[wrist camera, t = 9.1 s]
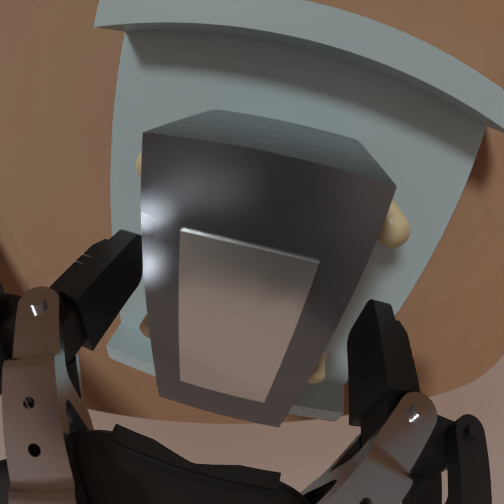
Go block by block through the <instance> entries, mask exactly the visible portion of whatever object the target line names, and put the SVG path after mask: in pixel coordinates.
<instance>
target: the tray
mask: <svg viewBox="0 0 504 504" xmlns="http://www.w3.org/2000/svg"><path fill="white" fill-rule="evenodd" d="M94 27H96V28H105V29H112V30H119V31H125V35H124V40H123V45H122V51H121V57H120V64H119V70H118V78H117V86H116V94H115V104H114V115H113V128H112V146H111V224H112V236H113V235H115V234H116V233H117V232H118V231H119V230H121V229H123V230H126V231H130V232H133V233H136V234H140V235H141V236H142V231H141V157H142V135H143V132H145V131H148V130H150V129H153V128H156V127H159V126H162V125H165V124H168V123H171V122H174V121H177V120H180V119H183V118H186V117H189V116H193V115H196V114H199V113H203V112H206V111H210V110H213V109H219V110H226V111H232V112H239V113H245V114H251V115H256V116H262V117H267V118H272V119H277V120H282V121H287V122H291V123H296V124H300V125H304V126H309V127H313V128H317V129H321V130H325V131H328V132H332V133H336V134H340V135H343V136H347V137H350V138H353V139H357V140H358V141H359V142H360V143H361V144H362V145H363V146H364V148H365V149H366V150H367V151H368V152H369V153H370V154H371V156H372V157H373V158H374V159H375V160H376V161H377V163H378V164H379V165H380V166H381V167H382V169H383V170H384V171H385V172H386V173H387V175H388V176H389V177H390V178H391V180H392V181H393V182H394V183H395V185H396V186H397V188H396V191H395V194H394V197H393V199H392V202H391V205H390V208H389V210H388V213H387V216H386V218H385V221H384V223H383V226H382V228H381V231H380V234H379V236H378V238H377V241H376V243H375V246H374V248H373V251H372V253H371V255H370V258H369V260H368V262H367V265H366V267H365V269H364V271H363V274H362V276H361V278H360V280H359V283H358V285H357V287H356V289H355V291H354V293H353V295H352V298H351V300H350V302H349V304H348V306H347V308H346V310H345V312H344V314H343V316H342V318H341V320H340V322H339V324H338V326H337V328H336V330H335V332H334V334H333V336H332V338H331V340H330V341H329V343H328V345H327V347H326V349H325V351H324V353H323V354H322V356H321V358H320V360H319V362H318V363H317V365H316V367H315V369H314V371H313V372H312V374H311V376H310V378H309V379H308V381H307V383H306V384H305V386H304V388H303V389H302V391H301V393H300V394H299V396H298V398H297V399H296V401H295V403H294V404H293V406H292V408H291V409H290V411H289V412H288V414H292V415H297V416H303V417H309V418H315V419H321V420H328V421H336V420H337V419H338V418H339V417H340V416H342V415H343V414H344V384H345V383H346V382H347V381H348V359H347V339H348V335H349V332H350V330H351V328H352V327H353V325H354V323H355V322H356V320H357V318H358V317H359V315H360V313H361V312H362V310H363V308H364V306H365V305H366V303H367V302H368V301H369V300H370V299H373V300H377V301H381V302H385V303H389V304H391V306H392V309H393V313H394V317H395V316H396V314H397V312H398V311H399V309H400V308H401V306H402V305H403V303H404V302H405V300H406V298H407V297H408V295H409V294H410V292H411V290H412V289H413V287H414V285H415V284H416V282H417V280H418V279H419V277H420V275H421V274H422V272H423V270H424V268H425V267H426V265H427V263H428V261H429V259H430V257H431V256H432V254H433V252H434V250H435V248H436V246H437V244H438V242H439V241H440V239H441V237H442V235H443V233H444V231H445V229H446V227H447V224H448V222H449V220H450V218H451V216H452V214H453V212H454V210H455V207H456V205H457V203H458V201H459V198H460V196H461V194H462V191H463V189H464V187H465V184H466V182H467V179H468V177H469V174H470V172H471V169H472V167H473V164H474V161H475V159H476V156H477V153H478V150H479V147H480V144H481V141H482V138H483V135H484V132H485V129H486V126H488V127H490V128H493V129H496V130H498V131H501V132H504V90H503V89H502V88H500V87H499V86H497V85H496V84H495V83H493V82H492V81H490V80H489V79H488V78H486V77H485V76H483V75H482V74H480V73H479V72H477V71H475V70H474V69H472V68H471V67H469V66H467V65H466V64H464V63H463V62H461V61H459V60H457V59H456V58H454V57H452V56H451V55H449V54H447V53H445V52H443V51H441V50H440V49H438V48H436V47H434V46H432V45H430V44H428V43H426V42H424V41H422V40H420V39H418V38H415V37H413V36H411V35H409V34H407V33H404V32H402V31H400V30H397V29H395V28H392V27H390V26H387V25H385V24H382V23H380V22H377V21H374V20H372V19H369V18H366V17H363V16H360V15H357V14H354V13H351V12H348V11H344V10H341V9H337V8H334V7H330V6H326V5H323V4H319V3H314V2H310V1H306V0H100V1H99V5H98V9H97V13H96V18H95V23H94ZM120 317H121V324H120V326H119V327H118V329H117V330H116V332H115V333H114V335H113V336H112V338H111V339H110V341H109V342H108V344H107V345H106V347H107V351H108V354H109V358H112V359H114V360H116V361H119V362H121V363H123V364H126V365H128V366H130V367H133V368H135V369H138V370H140V371H143V372H146V373H148V374H151V375H153V376H156V374H155V368H154V362H153V355H152V348H151V340H150V333H149V324H148V316H147V306H146V296H145V284H144V271H143V273H142V278H141V281H140V283H139V285H138V287H137V288H136V290H135V291H134V292H133V294H132V295H131V297H130V298H129V299H128V301H127V302H126V304H125V305H124V306H123V308H122V309H121V311H120Z"/></svg>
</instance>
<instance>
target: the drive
mask: <svg viewBox="0 0 504 504" xmlns="http://www.w3.org/2000/svg"><path fill="white" fill-rule="evenodd" d="M396 188H397V186H396V185H395V183H394V182H393V181H392V180H391V178H390V177H389V176H388V175H387V173H386V172H385V171H384V170H383V169H382V167H381V166H380V165H379V164H378V163H377V161H376V160H375V159H374V158H373V157H372V156H371V154H370V153H369V152H368V151H367V150H366V149H365V148H364V146H363V145H362V144H361V143H360V142H359V141H358V140H357V139H353V138H350V137H347V136H343V135H340V134H336V133H332V132H328V131H325V130H321V129H317V128H313V127H309V126H304V125H300V124H296V123H291V122H287V121H282V120H277V119H272V118H267V117H262V116H256V115H251V114H245V113H239V112H232V111H226V110H219V109H213V110H210V111H206V112H203V113H199V114H196V115H193V116H189V117H186V118H183V119H180V120H177V121H174V122H171V123H168V124H165V125H162V126H159V127H156V128H153V129H150V130H148V131H145V132H143V135H142V157H141V231H142V254H143V271H144V284H145V296H146V306H147V316H148V324H149V333H150V340H151V348H152V355H153V362H154V368H155V374H156V380H157V386H158V391H159V396H161V397H164V398H167V399H170V400H173V401H176V402H179V403H182V404H185V405H189V406H192V407H195V408H199V409H202V410H206V411H209V412H213V413H217V414H221V415H224V416H228V417H232V418H237V419H241V420H245V421H250V422H254V423H259V424H264V425H269V426H275V427H279V426H280V425H281V423H282V422H283V420H284V419H285V417H286V415H287V414H288V412H289V411H290V409H291V408H292V406H293V404H294V403H295V401H296V399H297V398H298V396H299V394H300V393H301V391H302V389H303V388H304V386H305V384H306V383H307V381H308V379H309V378H310V376H311V374H312V372H313V371H314V369H315V367H316V365H317V363H318V362H319V360H320V358H321V356H322V354H323V353H324V351H325V349H326V347H327V345H328V343H329V341H330V340H331V338H332V336H333V334H334V332H335V330H336V328H337V326H338V324H339V322H340V320H341V318H342V316H343V314H344V312H345V310H346V308H347V306H348V304H349V302H350V300H351V298H352V295H353V293H354V291H355V289H356V287H357V285H358V283H359V280H360V278H361V276H362V274H363V271H364V269H365V267H366V265H367V262H368V260H369V258H370V255H371V253H372V251H373V248H374V246H375V243H376V241H377V238H378V236H379V234H380V231H381V228H382V226H383V223H384V221H385V218H386V216H387V213H388V210H389V208H390V205H391V202H392V199H393V197H394V194H395V191H396Z"/></svg>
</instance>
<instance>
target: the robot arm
mask: <svg viewBox="0 0 504 504" xmlns="http://www.w3.org/2000/svg"><path fill="white" fill-rule="evenodd" d="M142 273H143V254H142V236H141V235H140V234H136V233H133V232H130V231H126V230H123V229H121V230H119V231H118V232H117V233H116V234H115V235H113V236H112V237H111V238H110V239H109V240H107V239H104V240H102V241H100V242H98V243H96V244H94V245H92V246H91V247H90V248H89V249H88V250H87V251H86V252H85V253H84V255H82V256H80V257H79V258H78V259H77V261H76V262H74V263H73V264H72V265H71V266H70V267H69V268H68V269H67V270H66V271H65V272H64V273H63V274H62V275H61V276H60V277H59V278H58V279H57V280H56V281H55V282H54V283H53V284H52V285H51V286H50V287H36V288H32V289H30V290H29V291H27V292H26V293H24V294H23V295H22V296H18V295H11V294H5V292H4V289H3V287H2V284H1V282H0V395H1V393H2V415H3V431H4V442H5V450H6V459H4V460H1V461H0V504H400V503H401V502H402V504H442V480H441V479H442V477H441V472H443V471H445V470H448V498H447V501H446V503H445V504H492V496H491V480H490V468H489V459H488V451H487V444H486V438H485V432H484V428H483V426H482V424H481V422H480V421H479V420H478V419H477V418H476V417H475V416H473V415H469V414H466V415H463V416H461V417H460V418H459V419H457V420H456V421H455V422H454V421H451V420H449V419H446V418H444V417H442V416H439V415H437V411H436V408H435V406H434V404H433V402H432V401H431V400H430V399H429V398H428V397H427V396H426V395H424V394H422V393H420V388H419V383H418V378H417V373H416V369H415V364H414V360H413V357H412V351H411V347H409V346H410V343H409V339H408V335H407V332H406V331H405V329H404V327H403V326H402V324H401V323H400V321H397V320H395V317H394V313H393V309H392V306H391V304H389V303H385V302H381V301H377V300H373V299H370V300H369V301H368V302H367V303H366V305H365V306H364V308H363V310H362V312H361V313H360V315H359V317H358V318H357V320H356V322H355V323H354V325H353V327H352V328H351V330H350V332H349V335H348V339H347V359H348V383H349V425H352V426H360V427H361V434H359V435H358V436H357V437H356V438H355V440H354V441H353V442H352V443H351V444H350V445H349V446H348V448H347V449H346V450H345V451H344V452H343V453H342V454H341V455H340V457H339V458H338V459H337V460H336V461H335V462H334V463H333V464H332V465H331V466H330V467H329V468H328V469H327V470H326V472H324V473H323V474H322V475H321V476H320V477H319V478H317V479H316V480H315V481H313V482H312V483H311V484H310V485H308V486H307V487H306V488H305V489H304V490H303V491H302V492H301V493H300V492H298V491H297V490H295V489H294V488H292V487H291V486H289V485H287V484H285V483H283V482H281V481H280V475H281V473H279V472H273V471H267V470H261V469H256V468H250V467H246V466H241V465H209V464H195V463H192V462H190V461H188V460H186V459H184V458H183V457H181V456H179V455H178V454H176V453H174V452H173V451H171V450H169V449H168V448H166V447H165V446H163V445H162V444H160V443H159V442H157V441H155V440H154V439H151V438H149V437H146V436H144V435H141V434H139V433H136V432H134V431H132V430H129V429H127V428H125V427H122V426H120V425H118V424H116V425H115V427H114V429H113V431H106V430H94V429H93V425H92V421H91V419H90V415H89V413H88V410H87V407H86V403H85V398H84V393H83V386H82V380H81V373H80V365H79V357H78V353H77V352H78V351H79V349H80V348H81V346H83V347H85V348H87V349H90V350H92V351H93V350H94V348H95V347H96V345H97V344H98V342H99V341H100V339H101V338H102V337H103V335H104V334H105V332H106V331H107V329H108V328H109V326H110V325H111V323H112V322H113V321H114V319H115V318H116V316H117V315H118V313H119V312H120V311H121V309H122V308H123V306H124V305H125V304H126V302H127V301H128V299H129V298H130V297H131V295H132V294H133V292H134V291H135V290H136V288H137V287H138V285H139V283H140V281H141V278H142Z"/></svg>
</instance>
